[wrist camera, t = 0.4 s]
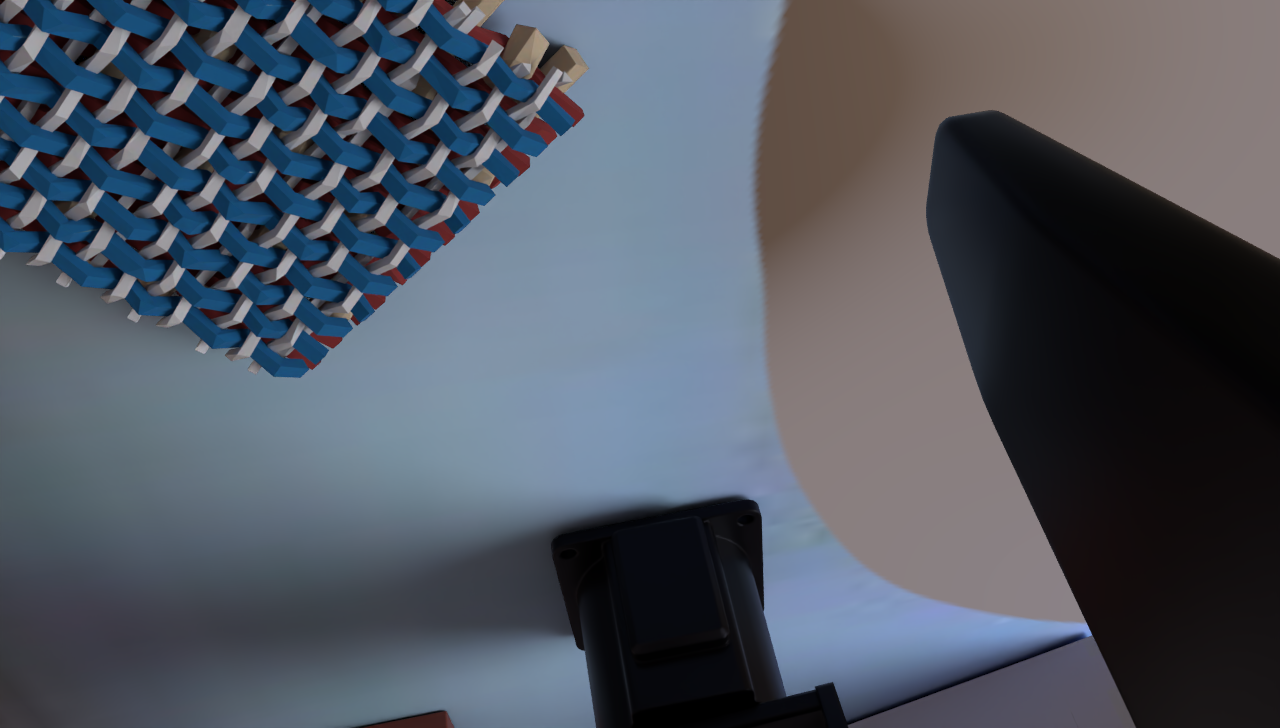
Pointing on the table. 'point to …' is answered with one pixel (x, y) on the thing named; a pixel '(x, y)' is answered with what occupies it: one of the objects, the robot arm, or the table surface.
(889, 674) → the table surface
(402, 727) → the reddish brown box
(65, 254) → the woven mat
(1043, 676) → the game console
